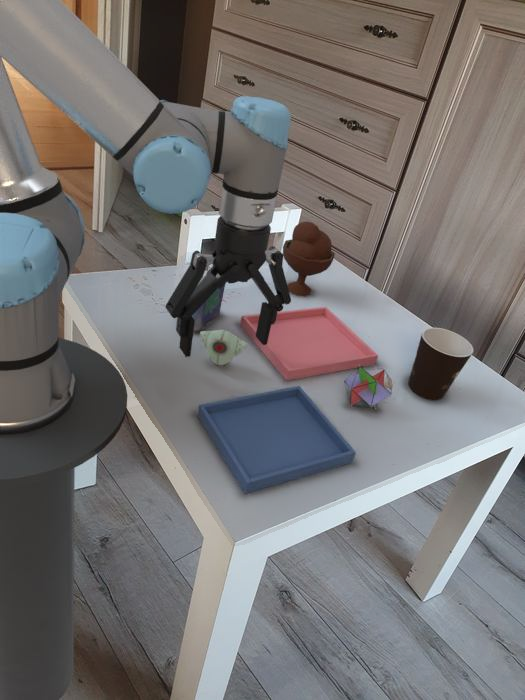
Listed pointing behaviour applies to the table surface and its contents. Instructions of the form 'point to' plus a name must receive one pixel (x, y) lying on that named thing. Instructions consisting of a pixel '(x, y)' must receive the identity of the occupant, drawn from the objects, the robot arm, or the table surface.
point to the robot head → (221, 345)
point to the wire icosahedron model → (369, 387)
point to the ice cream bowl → (307, 255)
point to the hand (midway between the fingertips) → (224, 346)
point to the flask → (208, 308)
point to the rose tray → (310, 343)
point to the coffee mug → (438, 362)
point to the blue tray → (274, 437)
